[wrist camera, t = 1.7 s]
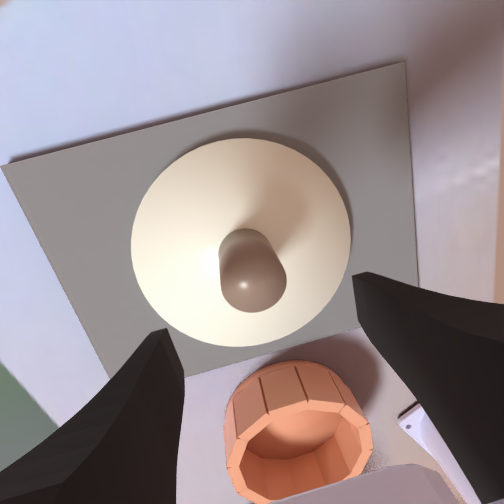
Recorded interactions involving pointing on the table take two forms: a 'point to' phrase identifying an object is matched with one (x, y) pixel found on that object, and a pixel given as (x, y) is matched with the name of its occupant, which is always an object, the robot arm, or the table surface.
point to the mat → (194, 136)
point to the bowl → (293, 432)
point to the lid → (240, 242)
